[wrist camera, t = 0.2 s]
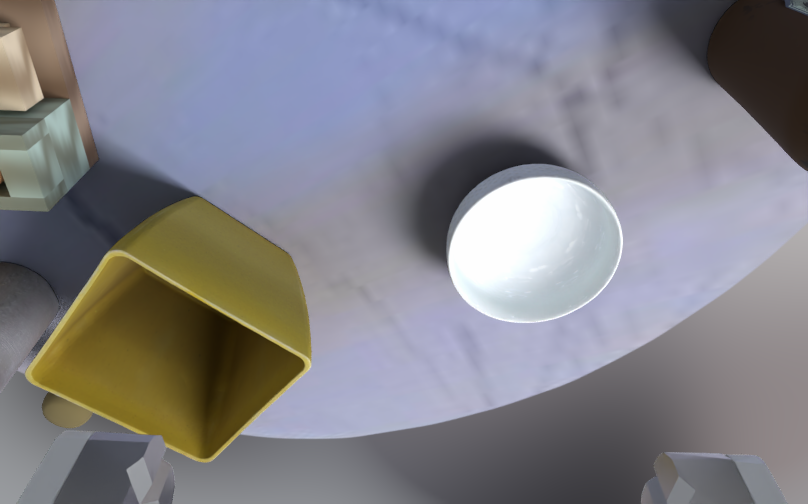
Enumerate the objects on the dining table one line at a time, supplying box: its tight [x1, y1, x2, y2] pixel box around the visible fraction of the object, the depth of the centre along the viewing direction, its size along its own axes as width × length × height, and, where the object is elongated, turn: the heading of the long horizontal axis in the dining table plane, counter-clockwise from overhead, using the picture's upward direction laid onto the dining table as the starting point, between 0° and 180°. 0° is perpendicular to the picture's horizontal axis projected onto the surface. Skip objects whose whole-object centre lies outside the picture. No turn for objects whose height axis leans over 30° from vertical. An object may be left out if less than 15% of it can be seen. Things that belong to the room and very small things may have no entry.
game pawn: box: [42, 392, 93, 428], centre depth 70 cm, size 6×6×11 cm
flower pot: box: [25, 196, 311, 462], centre depth 60 cm, size 19×19×17 cm
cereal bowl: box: [446, 164, 623, 323], centre depth 60 cm, size 17×17×7 cm
